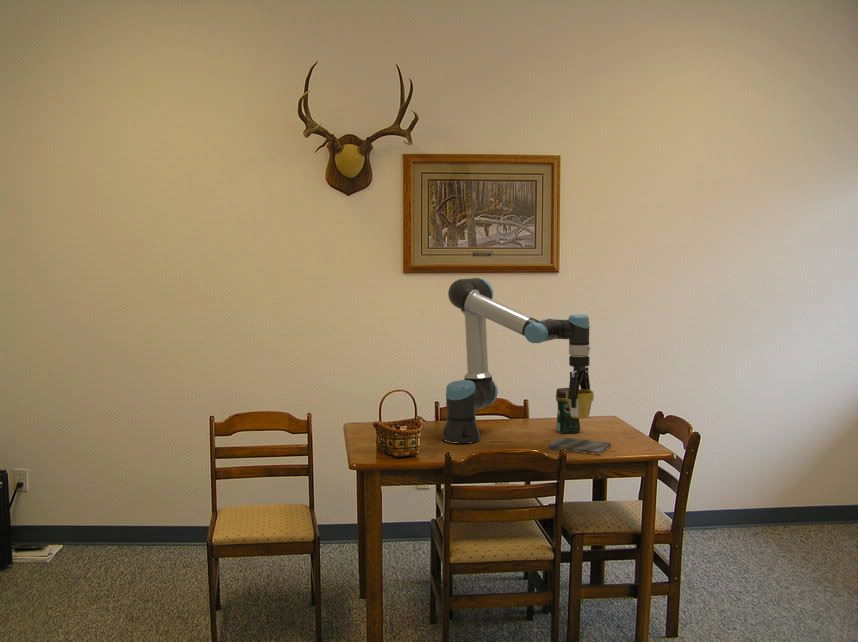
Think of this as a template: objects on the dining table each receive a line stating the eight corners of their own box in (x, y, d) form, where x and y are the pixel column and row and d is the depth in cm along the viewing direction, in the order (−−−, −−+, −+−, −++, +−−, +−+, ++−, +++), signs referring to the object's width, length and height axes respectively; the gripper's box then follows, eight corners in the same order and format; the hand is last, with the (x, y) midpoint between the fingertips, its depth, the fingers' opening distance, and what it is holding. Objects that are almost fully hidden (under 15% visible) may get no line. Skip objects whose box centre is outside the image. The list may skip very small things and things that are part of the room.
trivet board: (547, 448, 274) (547, 445, 274) (561, 440, 286) (561, 436, 286) (599, 455, 264) (599, 451, 263) (610, 446, 275) (610, 442, 275)
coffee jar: (576, 429, 304) (576, 385, 303) (581, 433, 297) (581, 389, 295) (554, 430, 304) (553, 386, 302) (558, 434, 296) (558, 390, 294)
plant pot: (566, 419, 269) (566, 393, 268) (565, 413, 279) (565, 388, 279) (594, 419, 268) (594, 393, 267) (592, 414, 278) (592, 389, 277)
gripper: (578, 359, 260) (578, 420, 262) (598, 352, 279) (598, 408, 281) (558, 358, 264) (559, 418, 266) (580, 351, 283) (580, 407, 285)
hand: (579, 413), depth 274 cm, fingers closed on plant pot, 10 cm apart
